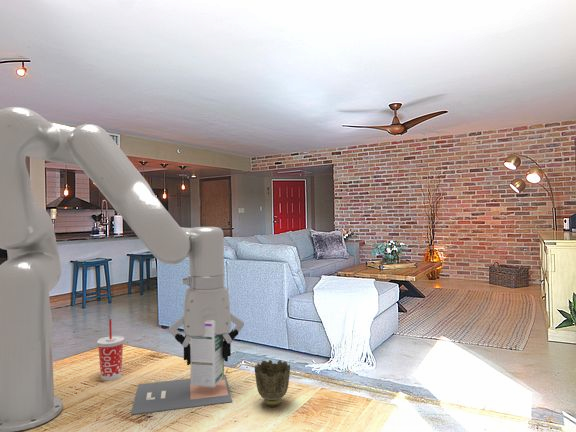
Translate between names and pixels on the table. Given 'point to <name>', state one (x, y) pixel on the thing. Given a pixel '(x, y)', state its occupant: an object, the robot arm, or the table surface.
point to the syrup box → (207, 357)
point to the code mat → (178, 395)
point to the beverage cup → (110, 355)
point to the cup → (272, 381)
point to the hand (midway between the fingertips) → (207, 360)
